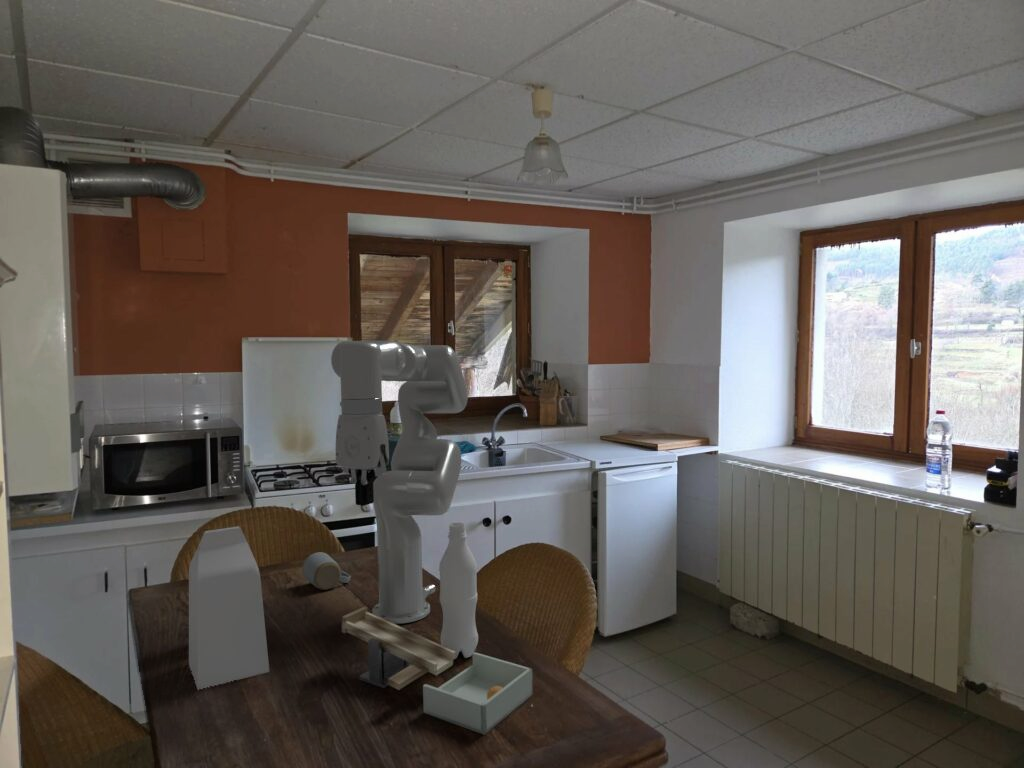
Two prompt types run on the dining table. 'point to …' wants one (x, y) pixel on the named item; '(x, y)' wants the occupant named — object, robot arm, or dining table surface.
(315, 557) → the ceramic mug
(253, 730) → the dining table surface
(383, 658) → the fulcrum
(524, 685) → the tray
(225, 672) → the milk
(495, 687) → the ball
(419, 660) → the lever
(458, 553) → the water bottle
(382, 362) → the robot arm
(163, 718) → the dining table surface
